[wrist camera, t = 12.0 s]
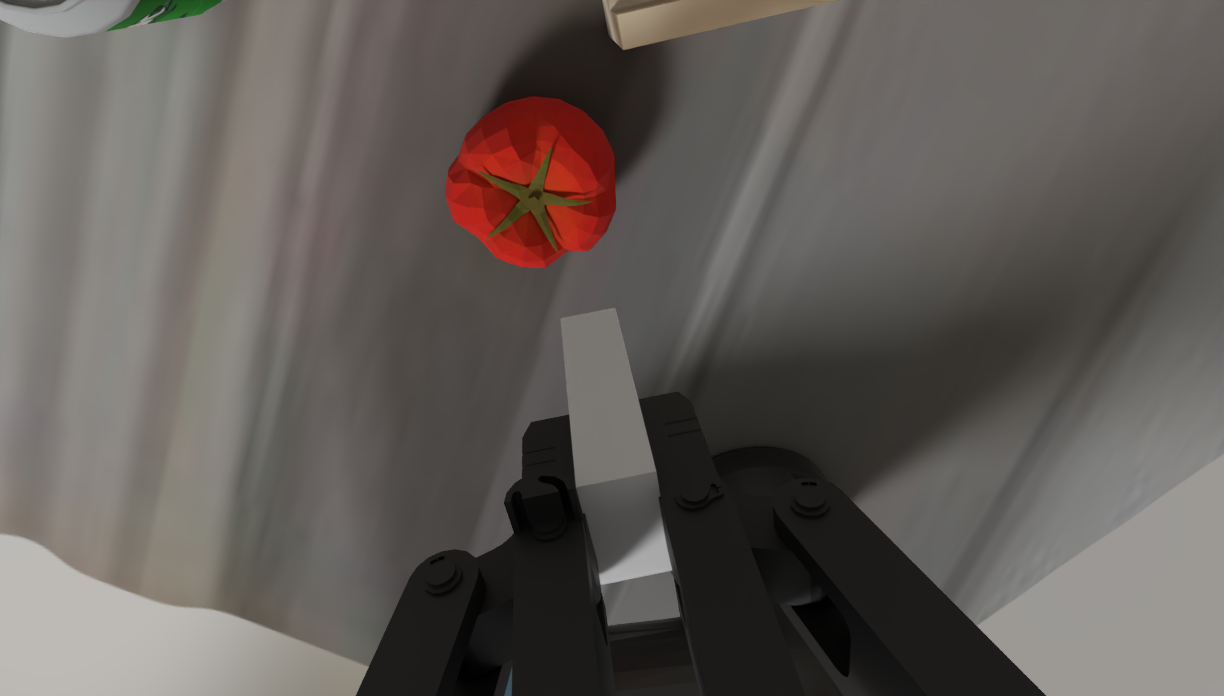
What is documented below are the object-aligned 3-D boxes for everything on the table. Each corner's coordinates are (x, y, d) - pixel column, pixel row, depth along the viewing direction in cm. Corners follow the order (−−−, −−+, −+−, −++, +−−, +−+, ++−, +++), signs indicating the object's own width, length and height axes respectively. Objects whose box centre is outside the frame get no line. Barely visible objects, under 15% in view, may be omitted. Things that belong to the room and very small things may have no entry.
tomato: (605, 83, 38) (621, 109, 31) (610, 230, 42) (625, 279, 36) (439, 91, 37) (421, 119, 31) (462, 240, 42) (450, 292, 35)
